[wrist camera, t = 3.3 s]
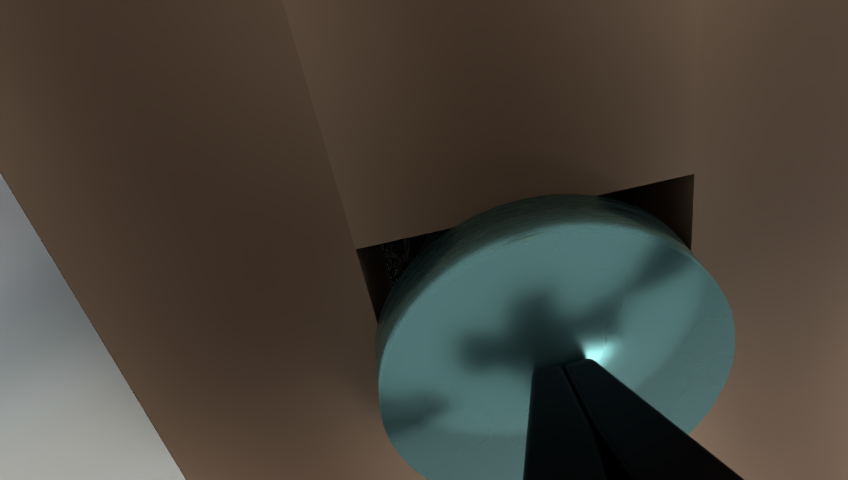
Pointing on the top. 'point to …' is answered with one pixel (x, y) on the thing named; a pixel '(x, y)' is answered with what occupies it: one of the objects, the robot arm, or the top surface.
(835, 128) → the walnut block
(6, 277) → the top surface
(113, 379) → the top surface
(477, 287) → the plunger teal
